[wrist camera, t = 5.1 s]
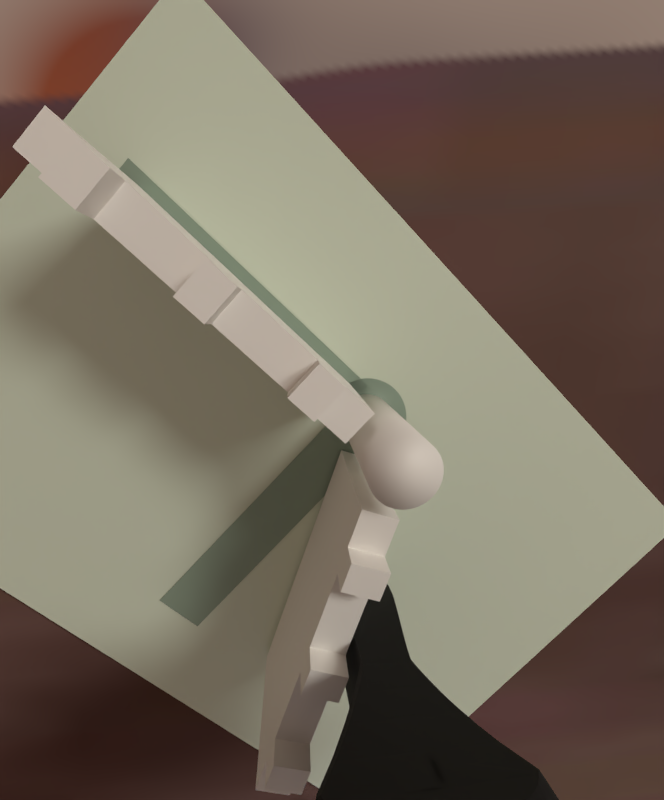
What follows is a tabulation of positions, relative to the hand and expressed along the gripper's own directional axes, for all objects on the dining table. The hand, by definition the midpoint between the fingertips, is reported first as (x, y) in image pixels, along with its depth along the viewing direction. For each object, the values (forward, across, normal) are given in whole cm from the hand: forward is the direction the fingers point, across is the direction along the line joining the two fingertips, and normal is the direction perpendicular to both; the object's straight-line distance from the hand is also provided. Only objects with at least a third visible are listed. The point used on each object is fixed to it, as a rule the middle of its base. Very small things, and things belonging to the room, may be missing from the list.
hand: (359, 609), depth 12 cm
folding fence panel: (+1, +1, -1) cm, 2 cm away
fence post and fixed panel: (+2, +2, -9) cm, 9 cm away
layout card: (+2, +2, -3) cm, 4 cm away
